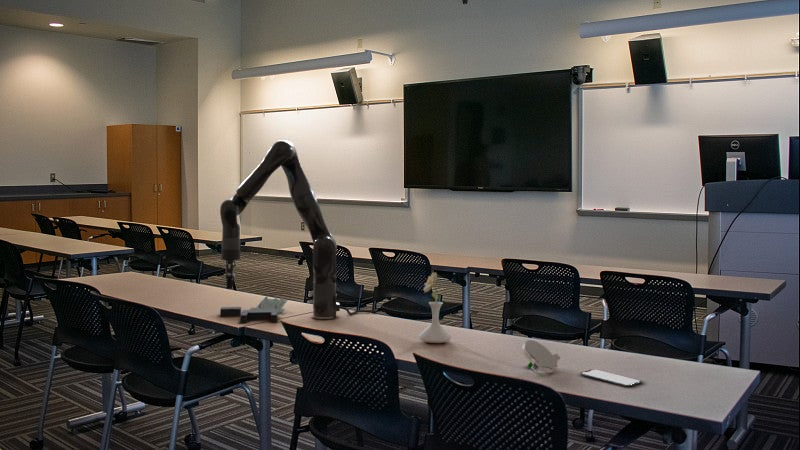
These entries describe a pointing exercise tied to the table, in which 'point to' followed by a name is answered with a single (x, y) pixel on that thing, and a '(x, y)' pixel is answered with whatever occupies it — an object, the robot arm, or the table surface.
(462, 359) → the table surface
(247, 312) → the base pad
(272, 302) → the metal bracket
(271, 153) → the robot arm
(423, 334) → the flower in vase
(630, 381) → the smartphone
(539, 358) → the tabbed white plastic disc
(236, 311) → the small black pad
